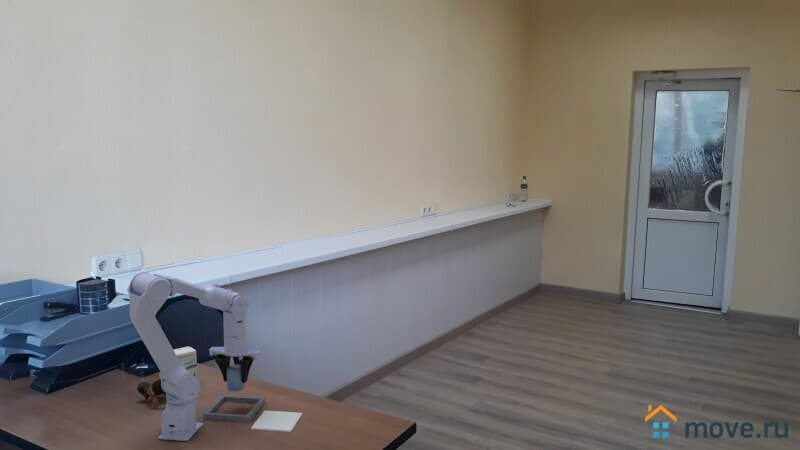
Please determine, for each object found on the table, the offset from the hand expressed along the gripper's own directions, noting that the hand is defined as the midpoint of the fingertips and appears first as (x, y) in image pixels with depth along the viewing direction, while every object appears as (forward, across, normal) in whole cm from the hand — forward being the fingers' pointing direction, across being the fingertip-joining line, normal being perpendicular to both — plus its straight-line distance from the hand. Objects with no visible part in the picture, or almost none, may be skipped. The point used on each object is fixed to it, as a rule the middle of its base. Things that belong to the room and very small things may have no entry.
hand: (235, 381), depth 178 cm
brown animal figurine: (+9, +25, -1) cm, 27 cm away
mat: (+9, -14, +4) cm, 17 cm away
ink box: (+9, +24, -12) cm, 29 cm away
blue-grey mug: (+2, 0, 0) cm, 2 cm away
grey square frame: (+9, 0, 0) cm, 9 cm away
